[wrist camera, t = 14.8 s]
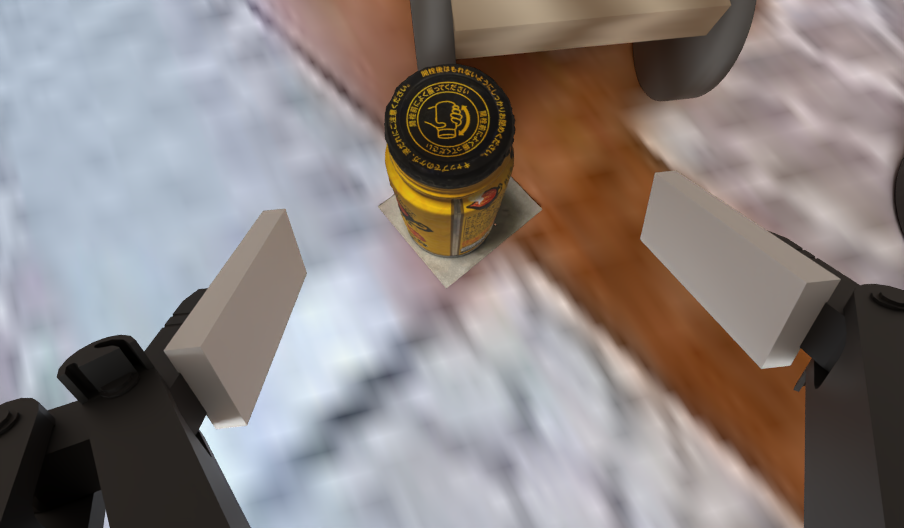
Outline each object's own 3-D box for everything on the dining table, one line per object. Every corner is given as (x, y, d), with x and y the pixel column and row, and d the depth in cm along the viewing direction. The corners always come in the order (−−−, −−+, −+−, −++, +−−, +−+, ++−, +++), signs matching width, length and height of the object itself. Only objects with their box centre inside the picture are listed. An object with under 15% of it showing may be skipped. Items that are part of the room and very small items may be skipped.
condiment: (378, 207, 27) (326, 104, 16) (472, 135, 28) (491, -12, 17) (446, 289, 26) (446, 244, 14) (541, 211, 27) (612, 111, 16)
